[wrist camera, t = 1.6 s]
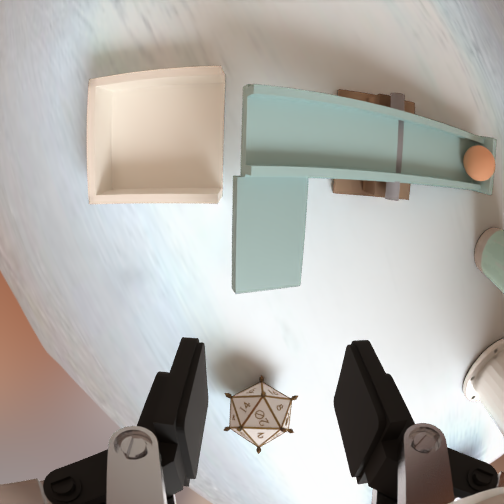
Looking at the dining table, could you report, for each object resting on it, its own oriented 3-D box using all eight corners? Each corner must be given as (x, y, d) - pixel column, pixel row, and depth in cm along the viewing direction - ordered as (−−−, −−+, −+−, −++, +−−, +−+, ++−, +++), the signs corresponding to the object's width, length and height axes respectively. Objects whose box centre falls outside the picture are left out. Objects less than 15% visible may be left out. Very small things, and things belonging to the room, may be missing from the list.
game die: (245, 371, 41) (197, 393, 33) (302, 365, 37) (262, 390, 28) (258, 430, 39) (215, 461, 31) (315, 429, 35) (280, 467, 27)
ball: (477, 146, 26) (502, 150, 22) (474, 179, 27) (499, 185, 24) (457, 141, 25) (484, 144, 22) (455, 176, 26) (481, 182, 23)
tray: (225, 75, 26) (220, 65, 22) (222, 196, 30) (217, 203, 26) (107, 85, 26) (88, 79, 22) (107, 196, 30) (89, 204, 26)
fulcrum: (411, 103, 26) (430, 99, 23) (406, 198, 30) (423, 206, 26) (337, 90, 26) (348, 83, 23) (333, 192, 30) (343, 199, 26)
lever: (471, 123, 26) (496, 125, 23) (456, 256, 31) (478, 267, 28) (235, 65, 18) (253, 52, 15) (231, 287, 23) (246, 310, 20)
